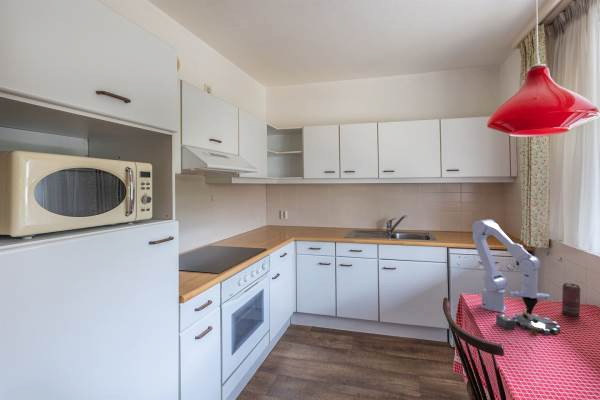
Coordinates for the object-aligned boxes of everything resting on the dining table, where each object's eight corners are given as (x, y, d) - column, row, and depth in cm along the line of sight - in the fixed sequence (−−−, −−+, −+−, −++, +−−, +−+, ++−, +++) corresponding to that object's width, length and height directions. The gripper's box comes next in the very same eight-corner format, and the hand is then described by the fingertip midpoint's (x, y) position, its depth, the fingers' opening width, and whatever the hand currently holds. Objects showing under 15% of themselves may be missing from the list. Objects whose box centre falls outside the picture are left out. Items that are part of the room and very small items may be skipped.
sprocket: (533, 335, 123) (534, 325, 123) (504, 317, 139) (504, 309, 139) (570, 332, 124) (570, 323, 124) (536, 315, 140) (536, 307, 140)
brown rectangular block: (531, 333, 125) (531, 327, 125) (531, 332, 126) (531, 326, 125) (537, 335, 123) (537, 329, 123) (537, 334, 124) (537, 328, 124)
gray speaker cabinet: (514, 329, 128) (514, 320, 128) (505, 330, 128) (505, 320, 128) (505, 323, 134) (505, 314, 134) (496, 323, 134) (496, 314, 134)
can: (571, 311, 144) (572, 282, 144) (583, 317, 138) (584, 287, 137) (558, 311, 145) (559, 282, 144) (568, 317, 139) (569, 287, 138)
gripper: (514, 285, 134) (513, 315, 135) (553, 288, 130) (553, 319, 130) (508, 280, 141) (508, 309, 141) (545, 282, 136) (545, 312, 137)
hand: (529, 313), depth 136 cm, fingers closed
